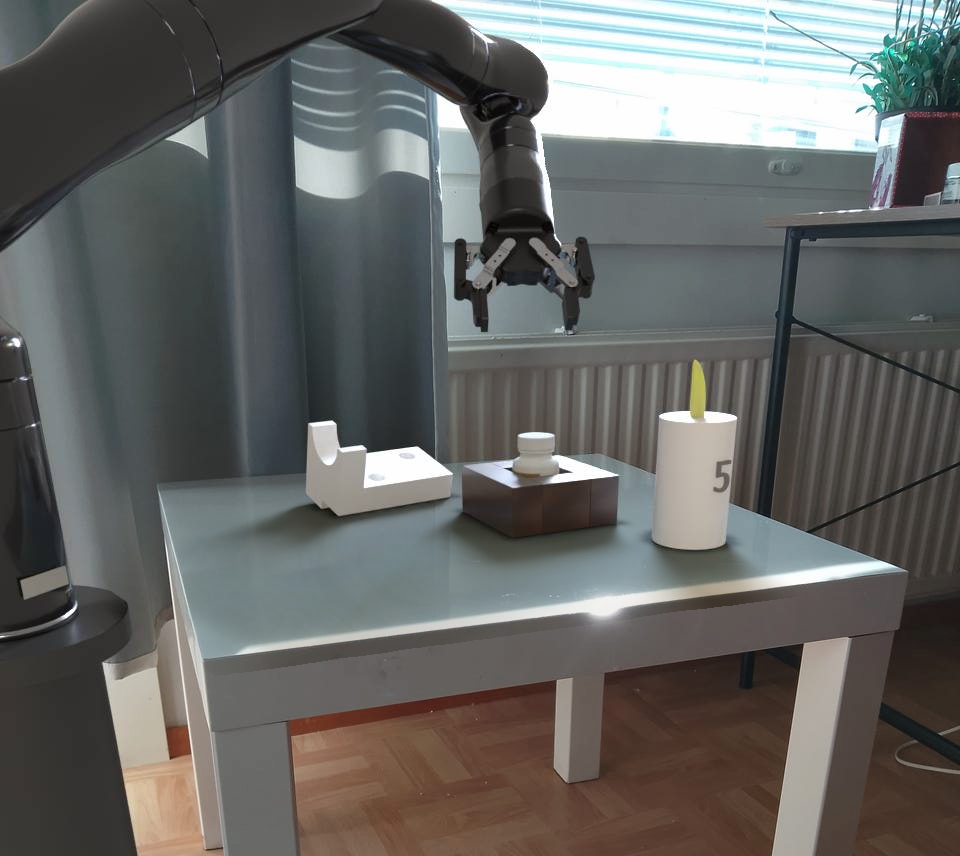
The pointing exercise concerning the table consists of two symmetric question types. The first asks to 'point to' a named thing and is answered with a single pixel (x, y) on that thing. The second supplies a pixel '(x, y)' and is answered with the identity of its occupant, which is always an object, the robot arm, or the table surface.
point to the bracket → (369, 474)
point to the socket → (539, 497)
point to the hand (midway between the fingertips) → (527, 326)
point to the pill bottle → (535, 455)
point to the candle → (693, 473)
